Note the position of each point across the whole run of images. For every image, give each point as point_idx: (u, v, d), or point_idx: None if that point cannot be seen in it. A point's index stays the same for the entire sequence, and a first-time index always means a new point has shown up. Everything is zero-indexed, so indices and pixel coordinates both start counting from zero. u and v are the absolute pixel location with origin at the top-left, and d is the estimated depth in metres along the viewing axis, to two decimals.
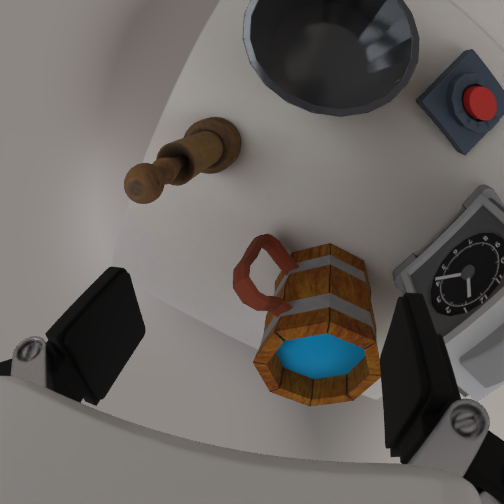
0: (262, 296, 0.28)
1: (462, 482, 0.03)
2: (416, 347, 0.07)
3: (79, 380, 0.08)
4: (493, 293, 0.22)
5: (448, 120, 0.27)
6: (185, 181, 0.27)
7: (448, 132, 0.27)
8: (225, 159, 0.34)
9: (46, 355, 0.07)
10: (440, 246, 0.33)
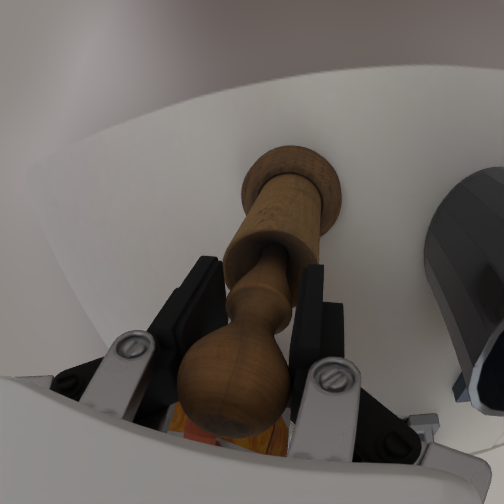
0: None
1: (462, 482, 0.03)
2: (299, 307, 0.08)
3: None
4: None
5: None
6: None
7: None
8: None
9: (149, 361, 0.07)
10: None
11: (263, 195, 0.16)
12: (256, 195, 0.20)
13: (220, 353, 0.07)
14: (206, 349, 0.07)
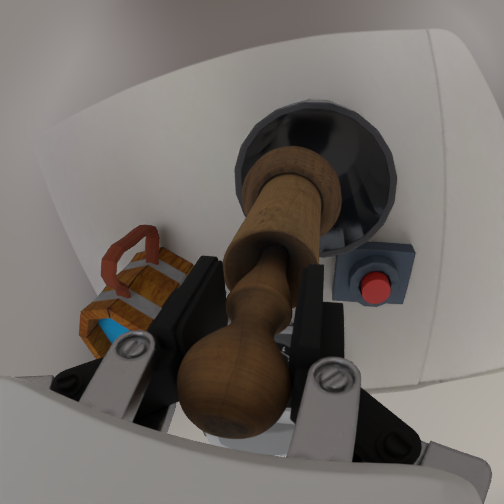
0: (116, 281, 0.32)
1: (462, 482, 0.03)
2: (299, 307, 0.08)
3: None
4: None
5: (343, 273, 0.39)
6: None
7: (335, 279, 0.39)
8: None
9: (149, 360, 0.07)
10: None
11: (263, 195, 0.16)
12: (256, 195, 0.20)
13: (220, 354, 0.07)
14: (206, 350, 0.07)
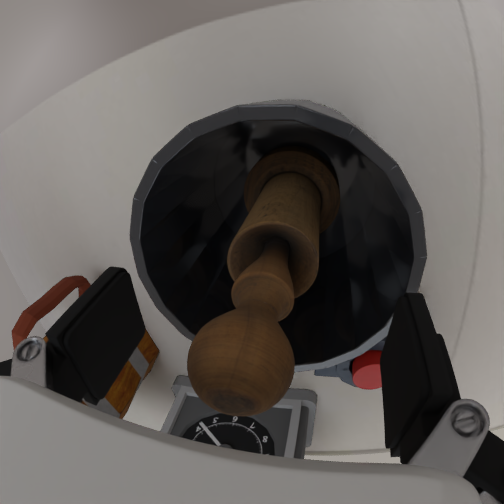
0: None
1: (462, 482, 0.03)
2: (416, 347, 0.07)
3: (79, 380, 0.08)
4: None
5: None
6: None
7: None
8: None
9: (46, 355, 0.07)
10: None
11: (265, 192, 0.17)
12: (258, 193, 0.20)
13: (229, 332, 0.08)
14: (216, 329, 0.08)
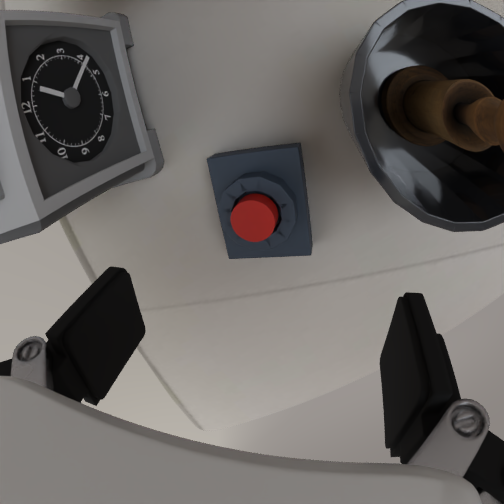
0: None
1: (462, 482, 0.03)
2: (416, 347, 0.07)
3: (79, 379, 0.08)
4: (24, 121, 0.15)
5: (256, 163, 0.26)
6: (444, 101, 0.12)
7: (243, 154, 0.26)
8: (398, 110, 0.20)
9: (46, 355, 0.07)
10: (121, 78, 0.24)
11: None
12: (430, 79, 0.18)
13: None
14: None
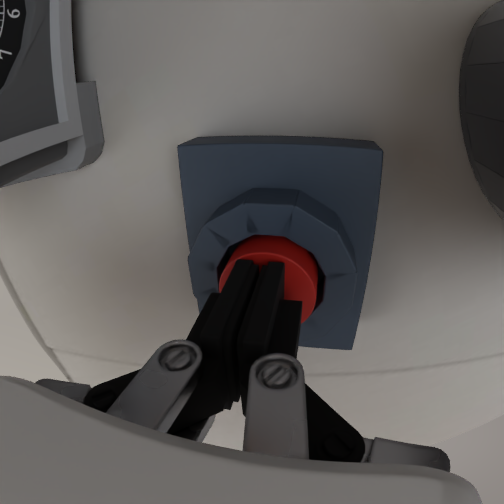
0: None
1: (462, 482, 0.03)
2: (251, 304, 0.09)
3: (226, 383, 0.08)
4: None
5: (285, 171, 0.12)
6: None
7: (259, 146, 0.11)
8: None
9: (192, 376, 0.07)
10: None
11: None
12: None
13: None
14: None
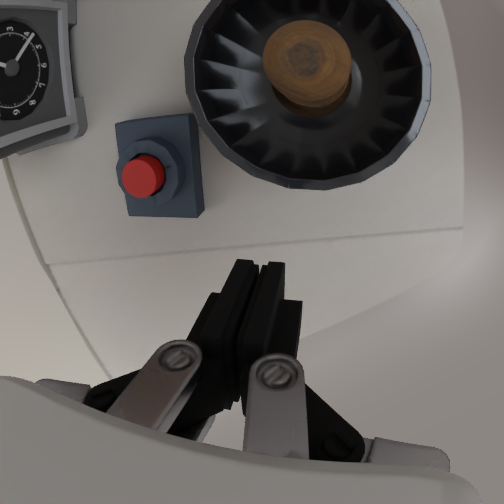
0: None
1: (462, 482, 0.03)
2: (251, 304, 0.09)
3: (225, 383, 0.08)
4: None
5: (153, 129, 0.27)
6: None
7: (143, 120, 0.26)
8: None
9: (192, 376, 0.07)
10: (60, 52, 0.23)
11: None
12: None
13: (350, 58, 0.09)
14: (347, 47, 0.09)
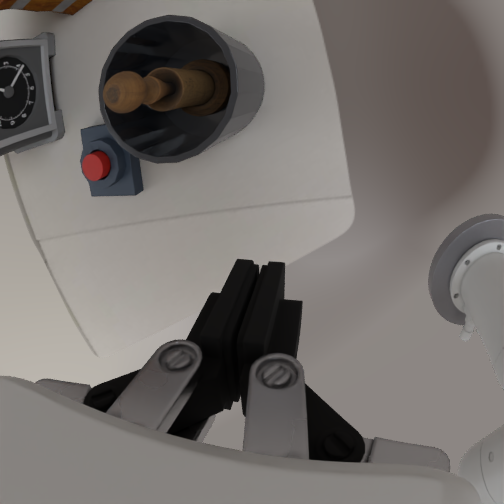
0: None
1: (462, 482, 0.03)
2: (251, 304, 0.09)
3: (226, 383, 0.08)
4: None
5: (104, 132, 0.36)
6: None
7: (98, 127, 0.35)
8: None
9: (192, 376, 0.07)
10: (43, 77, 0.33)
11: (199, 76, 0.26)
12: (200, 68, 0.29)
13: (140, 86, 0.17)
14: (140, 81, 0.17)
